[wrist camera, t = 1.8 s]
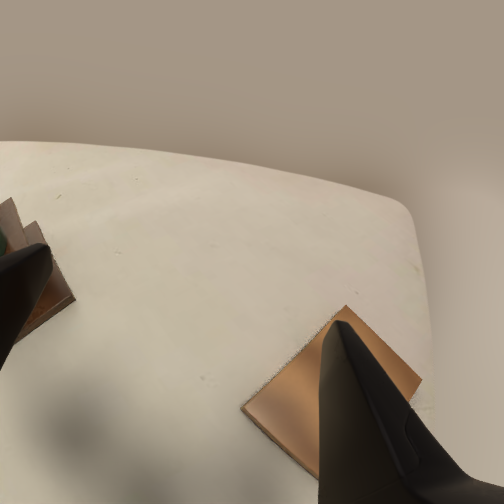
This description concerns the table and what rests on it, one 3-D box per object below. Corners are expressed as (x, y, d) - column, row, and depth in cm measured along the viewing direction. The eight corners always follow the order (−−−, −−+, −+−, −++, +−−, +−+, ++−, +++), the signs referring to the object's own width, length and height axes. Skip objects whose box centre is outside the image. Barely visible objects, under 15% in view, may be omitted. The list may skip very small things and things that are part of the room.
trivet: (331, 490, 17) (339, 492, 16) (239, 408, 20) (242, 406, 19) (413, 383, 23) (422, 379, 22) (339, 311, 26) (346, 304, 25)
